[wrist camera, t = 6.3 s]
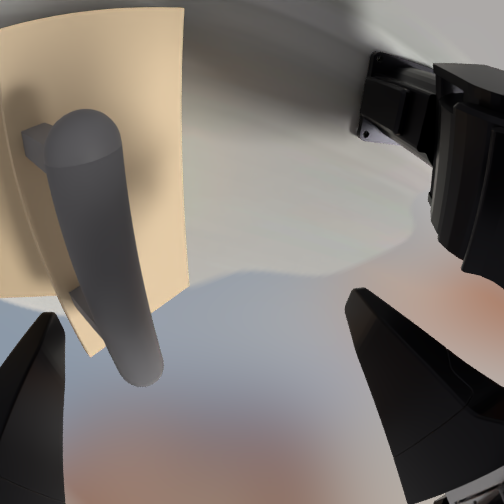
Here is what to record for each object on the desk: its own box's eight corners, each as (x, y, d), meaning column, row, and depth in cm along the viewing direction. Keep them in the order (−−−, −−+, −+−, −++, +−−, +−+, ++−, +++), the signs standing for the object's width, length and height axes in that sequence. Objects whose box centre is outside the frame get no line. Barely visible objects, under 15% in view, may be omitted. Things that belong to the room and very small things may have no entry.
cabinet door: (175, 9, 9) (299, 2, 6) (183, 281, 17) (258, 332, 15) (-5, 32, 4) (43, -24, 2) (85, 351, 13) (155, 428, 11)
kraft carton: (181, 17, 13) (181, 5, 9) (183, 226, 22) (187, 286, 17) (-29, 65, 10) (-86, 86, 6) (12, 242, 19) (-16, 298, 14)
